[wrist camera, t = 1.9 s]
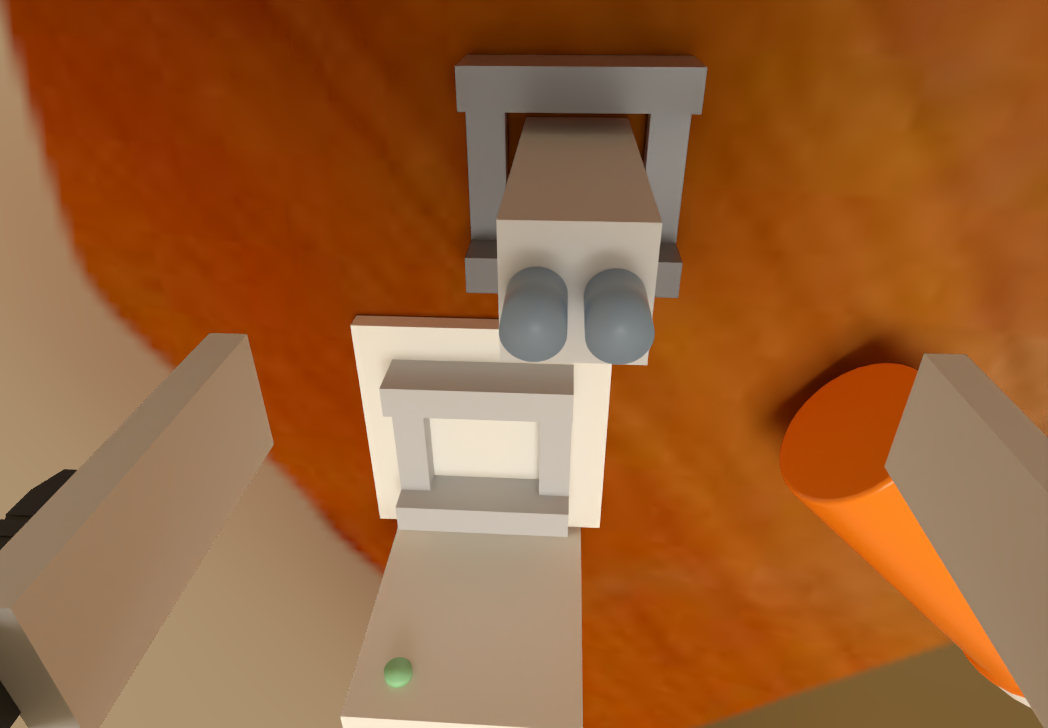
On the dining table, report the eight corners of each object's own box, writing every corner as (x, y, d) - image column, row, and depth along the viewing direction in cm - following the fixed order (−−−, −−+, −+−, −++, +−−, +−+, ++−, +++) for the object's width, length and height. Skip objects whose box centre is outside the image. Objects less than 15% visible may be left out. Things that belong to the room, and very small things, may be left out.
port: (356, 315, 32) (253, 487, 22) (613, 322, 31) (632, 503, 21) (387, 526, 39) (320, 731, 29) (597, 535, 38) (605, 749, 28)
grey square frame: (466, 54, 26) (454, 65, 23) (694, 55, 25) (707, 67, 23) (475, 263, 30) (466, 292, 27) (669, 267, 30) (677, 297, 27)
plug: (526, 117, 27) (487, 250, 15) (628, 118, 26) (672, 254, 14) (526, 215, 29) (492, 402, 17) (620, 216, 29) (654, 407, 17)
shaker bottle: (840, 567, 24) (1116, 789, 30) (1018, 379, 23) (1267, 646, 29) (729, 465, 33) (962, 654, 39) (856, 323, 32) (1075, 539, 38)
